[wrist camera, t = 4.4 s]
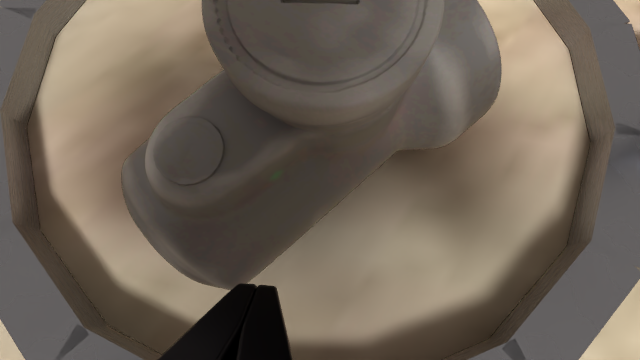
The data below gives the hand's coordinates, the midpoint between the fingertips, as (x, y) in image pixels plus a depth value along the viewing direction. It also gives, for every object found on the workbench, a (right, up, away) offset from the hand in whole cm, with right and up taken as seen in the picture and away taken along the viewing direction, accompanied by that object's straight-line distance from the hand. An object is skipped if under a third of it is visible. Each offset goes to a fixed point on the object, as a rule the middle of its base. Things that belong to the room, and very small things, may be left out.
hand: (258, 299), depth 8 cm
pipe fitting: (+1, +3, +9) cm, 9 cm away
